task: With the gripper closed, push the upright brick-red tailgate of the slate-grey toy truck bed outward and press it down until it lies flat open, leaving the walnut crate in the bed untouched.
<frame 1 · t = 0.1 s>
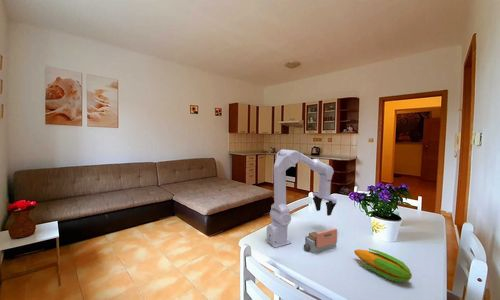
hand: (323, 212, 115), 10 cm above the table, fingers open, 7 cm apart
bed: (320, 247, 98), on the table
tailgate: (327, 237, 95), point 6 cm above the table, hinge at -2.0°
corn: (378, 272, 81), on the table
crate: (315, 242, 96), point 3 cm above the table, touching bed
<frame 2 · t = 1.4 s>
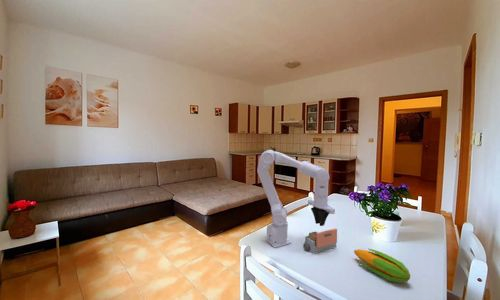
hand: (319, 224, 99), 10 cm above the table, fingers closed
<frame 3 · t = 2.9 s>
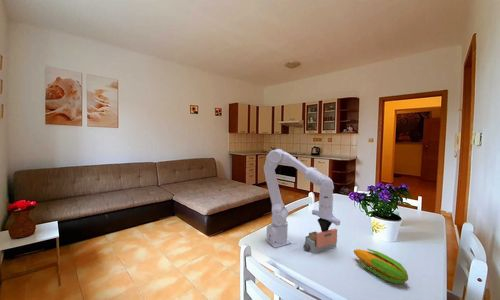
hand: (324, 235, 96), 7 cm above the table, fingers closed, pressing on tailgate
tailgate: (327, 237, 95), point 6 cm above the table, hinge at -1.7°, touching gripper
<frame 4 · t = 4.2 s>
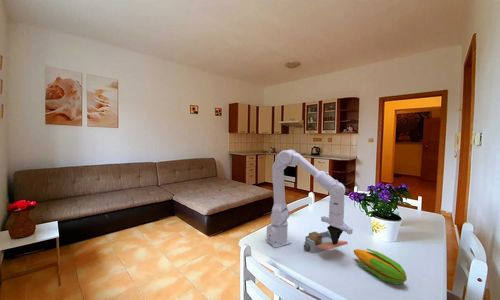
hand: (334, 243, 91), 5 cm above the table, fingers closed, pressing on tailgate
tailgate: (332, 244, 92), point 4 cm above the table, hinge at 70.9°, touching gripper
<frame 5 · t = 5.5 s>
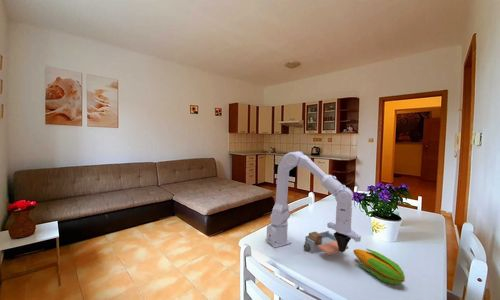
hand: (341, 251, 88), 4 cm above the table, fingers closed
tailgate: (333, 247, 92), point 3 cm above the table, hinge at 89.8°
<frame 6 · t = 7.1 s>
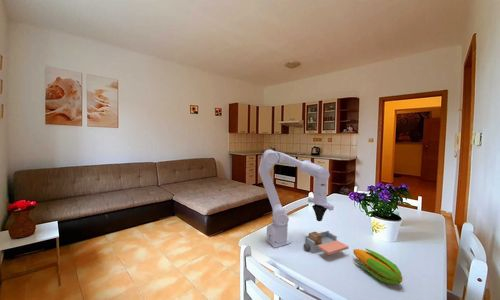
hand: (319, 220, 103), 10 cm above the table, fingers closed
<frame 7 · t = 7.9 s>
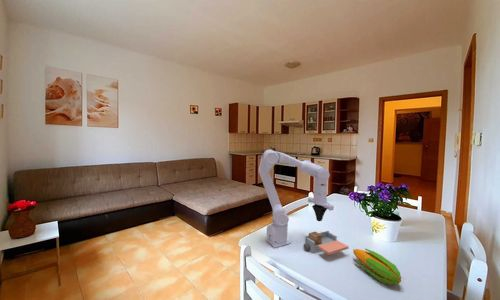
hand: (319, 220, 103), 10 cm above the table, fingers closed
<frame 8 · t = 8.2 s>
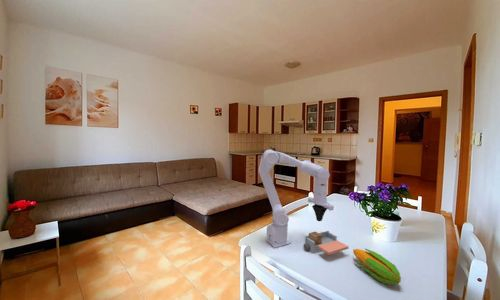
hand: (319, 220, 103), 10 cm above the table, fingers closed
at the end: tailgate at +90° (first picture: -2°) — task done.
